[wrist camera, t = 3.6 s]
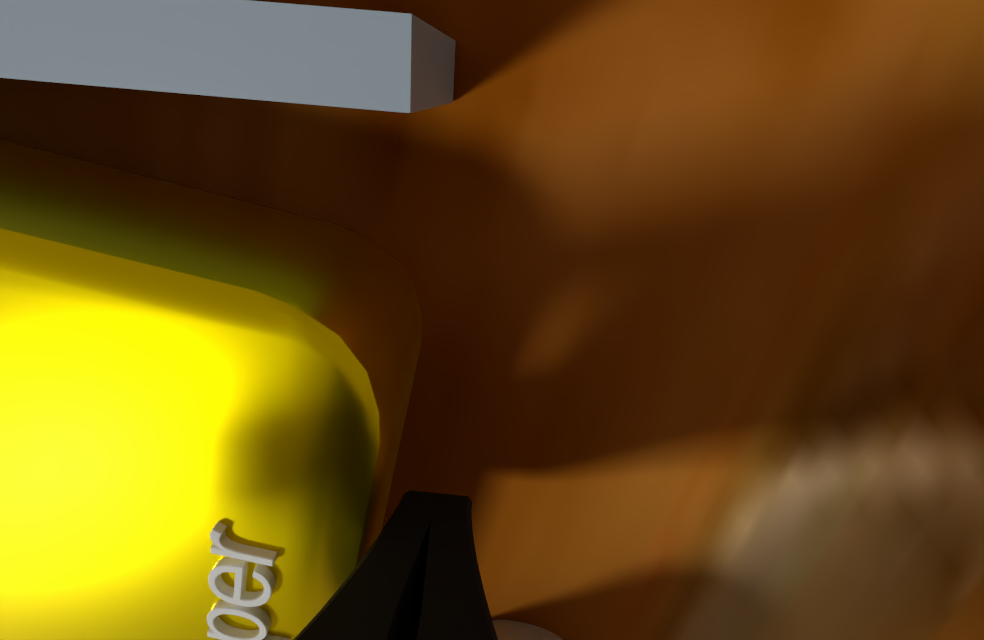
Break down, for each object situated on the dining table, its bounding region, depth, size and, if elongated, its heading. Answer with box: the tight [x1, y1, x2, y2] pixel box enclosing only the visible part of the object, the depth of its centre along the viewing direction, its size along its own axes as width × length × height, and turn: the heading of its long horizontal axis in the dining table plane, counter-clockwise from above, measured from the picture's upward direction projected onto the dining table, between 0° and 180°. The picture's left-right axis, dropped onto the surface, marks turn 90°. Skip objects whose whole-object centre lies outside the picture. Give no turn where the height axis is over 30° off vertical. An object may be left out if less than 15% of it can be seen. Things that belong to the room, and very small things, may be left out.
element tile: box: [0, 140, 422, 640], centre depth 12 cm, size 15×15×5 cm
